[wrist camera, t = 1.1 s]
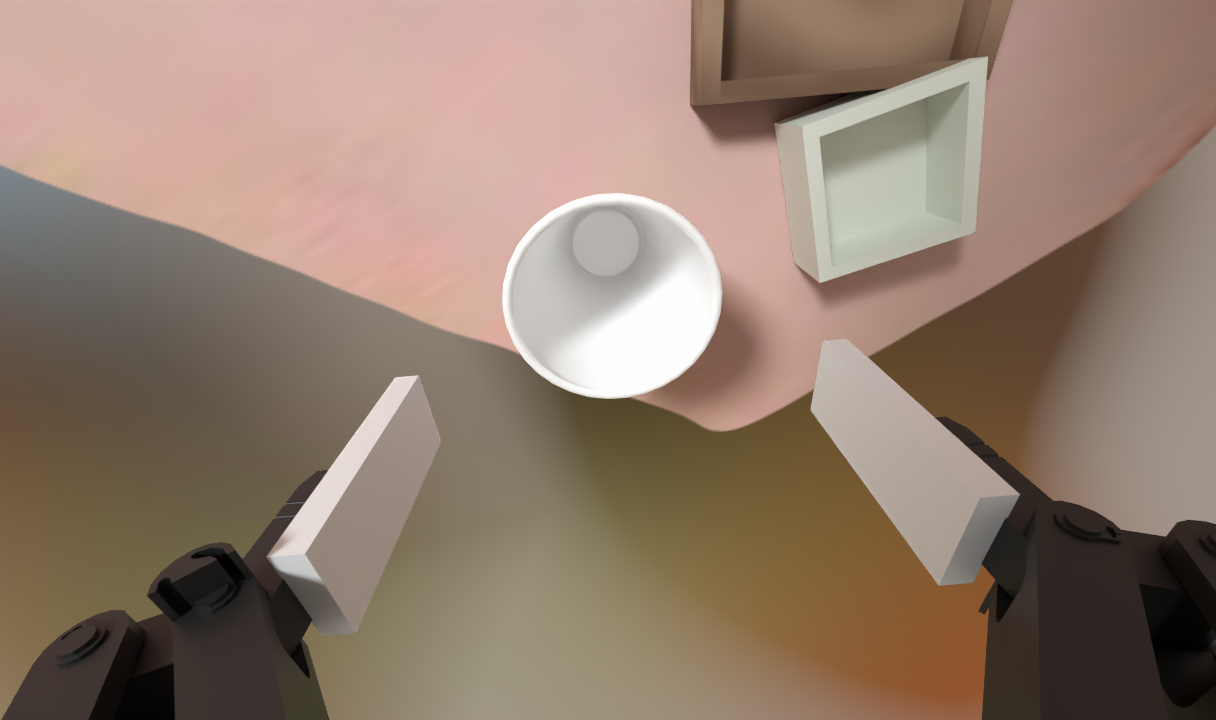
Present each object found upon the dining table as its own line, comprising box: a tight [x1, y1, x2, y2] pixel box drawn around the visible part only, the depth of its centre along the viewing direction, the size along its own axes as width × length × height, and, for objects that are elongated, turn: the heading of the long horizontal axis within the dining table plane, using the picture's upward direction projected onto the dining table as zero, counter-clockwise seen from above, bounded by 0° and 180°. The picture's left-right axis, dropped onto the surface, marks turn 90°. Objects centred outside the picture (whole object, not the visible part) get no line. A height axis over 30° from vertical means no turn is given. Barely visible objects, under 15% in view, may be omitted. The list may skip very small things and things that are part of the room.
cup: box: [502, 193, 723, 399], centre depth 25 cm, size 10×10×11 cm
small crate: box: [774, 57, 988, 283], centre depth 26 cm, size 9×9×4 cm
